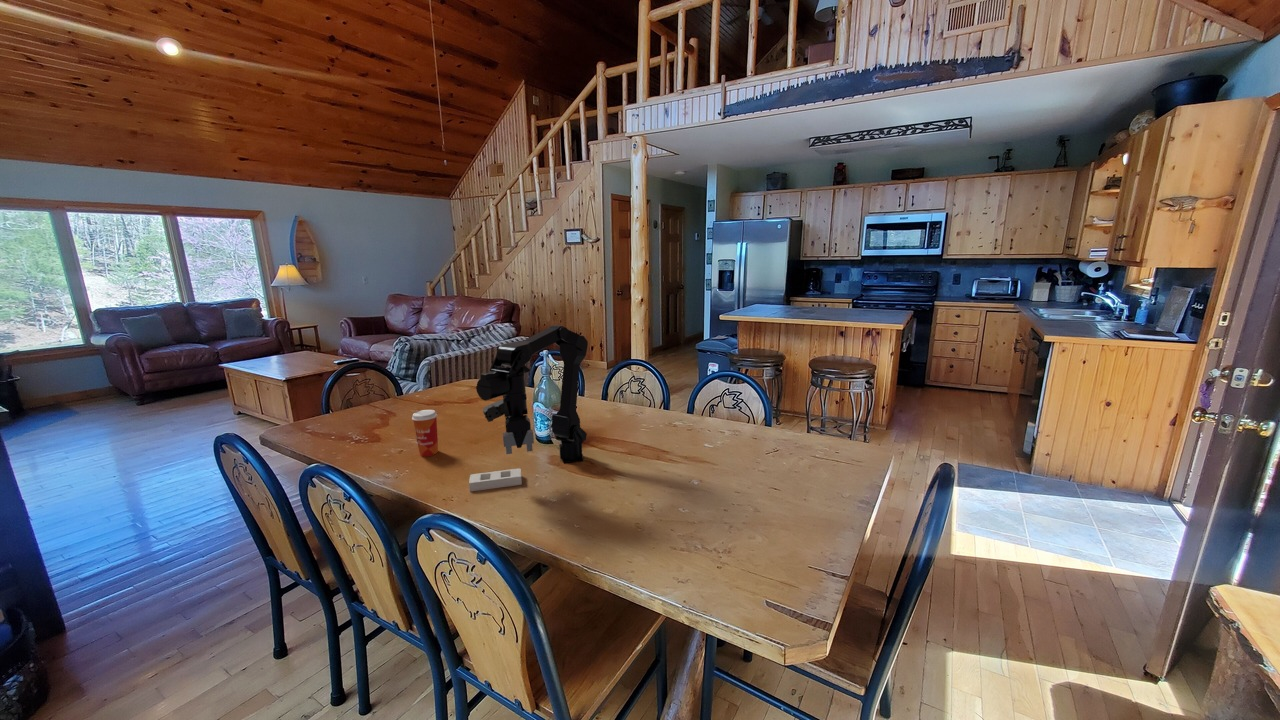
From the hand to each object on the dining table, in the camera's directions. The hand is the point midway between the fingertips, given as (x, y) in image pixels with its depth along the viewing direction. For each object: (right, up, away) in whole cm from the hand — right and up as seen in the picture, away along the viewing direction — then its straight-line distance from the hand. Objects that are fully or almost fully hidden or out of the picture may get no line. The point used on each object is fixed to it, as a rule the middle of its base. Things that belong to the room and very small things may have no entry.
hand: (518, 445), depth 134 cm
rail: (-8, -12, +4) cm, 15 cm away
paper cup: (-37, -8, +27) cm, 46 cm away
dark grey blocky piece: (0, -2, 0) cm, 2 cm away
